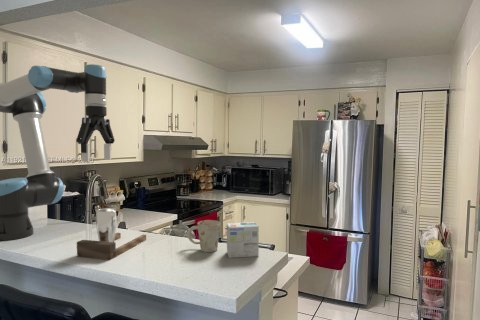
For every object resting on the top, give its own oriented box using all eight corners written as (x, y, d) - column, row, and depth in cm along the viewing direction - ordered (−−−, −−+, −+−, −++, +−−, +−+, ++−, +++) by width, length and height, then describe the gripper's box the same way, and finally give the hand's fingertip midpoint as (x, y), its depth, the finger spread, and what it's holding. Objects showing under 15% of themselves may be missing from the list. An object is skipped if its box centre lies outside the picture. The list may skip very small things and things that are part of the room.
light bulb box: (255, 250, 129) (255, 221, 128) (259, 256, 122) (259, 226, 122) (226, 252, 127) (226, 222, 127) (228, 258, 121) (228, 227, 120)
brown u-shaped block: (117, 237, 145) (117, 225, 145) (146, 239, 142) (146, 227, 141) (77, 256, 122) (76, 242, 121) (110, 259, 119) (110, 245, 118)
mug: (216, 254, 125) (217, 226, 124) (183, 251, 127) (183, 224, 127) (222, 247, 133) (222, 220, 132) (190, 244, 136) (190, 219, 135)
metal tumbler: (115, 253, 125) (114, 211, 124) (94, 254, 123) (93, 212, 122) (118, 247, 131) (118, 207, 130) (98, 248, 130) (98, 208, 129)
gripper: (82, 102, 124) (84, 162, 126) (122, 108, 149) (123, 158, 150) (64, 103, 126) (66, 162, 128) (107, 108, 150) (107, 158, 152)
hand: (97, 160), depth 139 cm, fingers open, 13 cm apart
